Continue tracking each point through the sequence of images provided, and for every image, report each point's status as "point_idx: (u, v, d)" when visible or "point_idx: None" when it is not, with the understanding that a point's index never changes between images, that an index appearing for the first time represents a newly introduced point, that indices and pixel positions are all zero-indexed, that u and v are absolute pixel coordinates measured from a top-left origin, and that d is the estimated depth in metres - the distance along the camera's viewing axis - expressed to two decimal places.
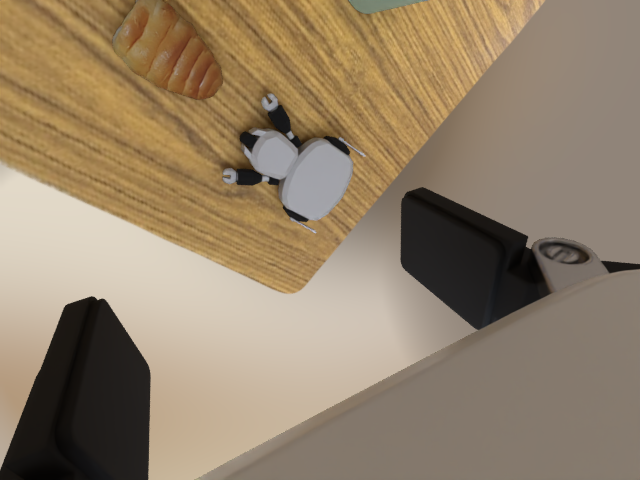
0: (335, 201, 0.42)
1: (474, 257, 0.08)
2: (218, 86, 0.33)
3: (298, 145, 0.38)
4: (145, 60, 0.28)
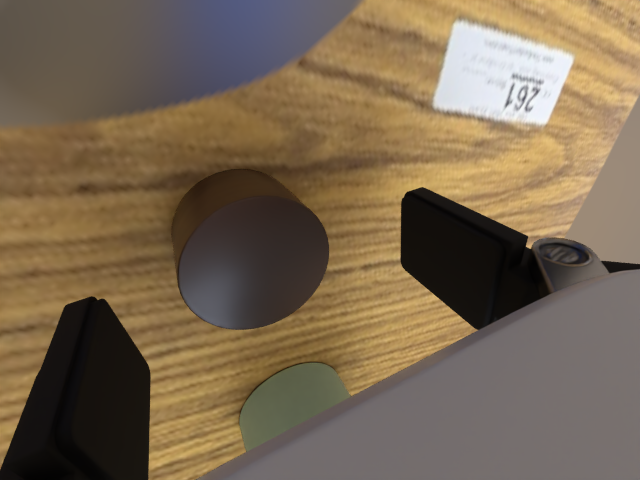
0: None
1: (474, 257, 0.08)
2: None
3: None
4: None
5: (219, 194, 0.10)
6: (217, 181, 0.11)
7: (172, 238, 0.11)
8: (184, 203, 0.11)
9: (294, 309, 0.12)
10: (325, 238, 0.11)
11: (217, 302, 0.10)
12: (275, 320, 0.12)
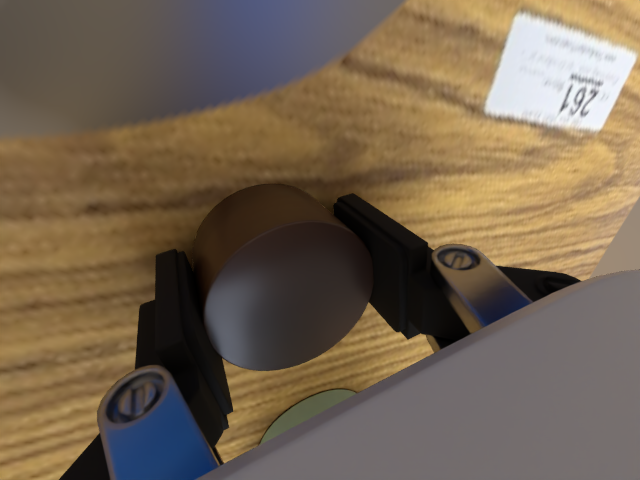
0: None
1: (385, 262, 0.09)
2: None
3: None
4: None
5: (251, 217, 0.08)
6: (246, 199, 0.09)
7: (193, 264, 0.10)
8: (208, 224, 0.09)
9: (331, 345, 0.10)
10: (371, 266, 0.09)
11: (246, 343, 0.09)
12: (309, 358, 0.10)
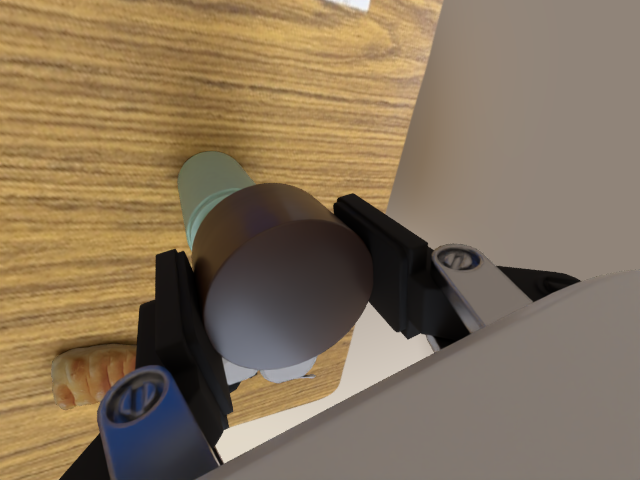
0: None
1: (385, 262, 0.09)
2: None
3: None
4: (91, 402, 0.33)
5: (251, 216, 0.08)
6: (246, 198, 0.09)
7: (193, 263, 0.10)
8: (208, 223, 0.09)
9: (331, 344, 0.10)
10: (371, 265, 0.09)
11: (246, 342, 0.09)
12: (309, 357, 0.10)
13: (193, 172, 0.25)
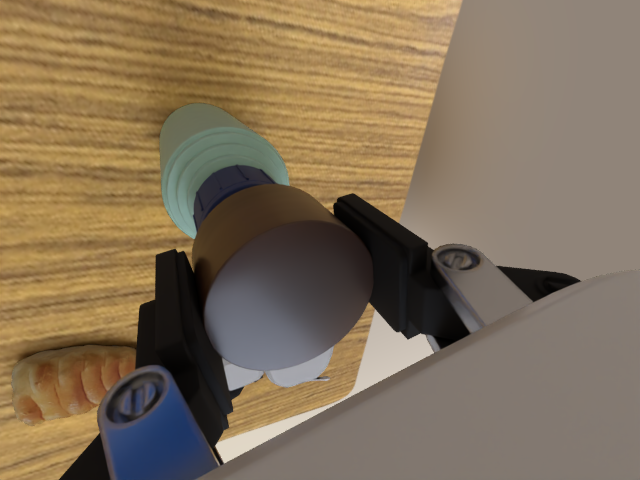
0: (329, 353, 0.36)
1: (385, 262, 0.09)
2: None
3: None
4: (63, 416, 0.27)
5: (251, 217, 0.08)
6: (246, 199, 0.09)
7: (193, 264, 0.10)
8: (208, 224, 0.09)
9: (331, 345, 0.10)
10: (371, 266, 0.09)
11: (246, 343, 0.09)
12: (309, 358, 0.10)
13: (175, 121, 0.20)
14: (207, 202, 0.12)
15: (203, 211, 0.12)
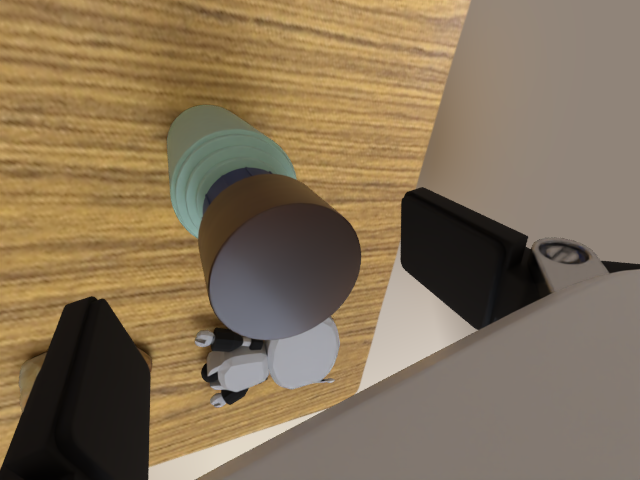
0: (334, 355, 0.36)
1: (474, 257, 0.08)
2: None
3: (260, 347, 0.33)
4: None
5: (251, 201, 0.09)
6: (247, 186, 0.10)
7: (199, 244, 0.11)
8: (213, 209, 0.10)
9: (323, 319, 0.11)
10: (357, 246, 0.10)
11: (246, 313, 0.10)
12: (303, 330, 0.11)
13: (183, 123, 0.20)
14: None
15: None
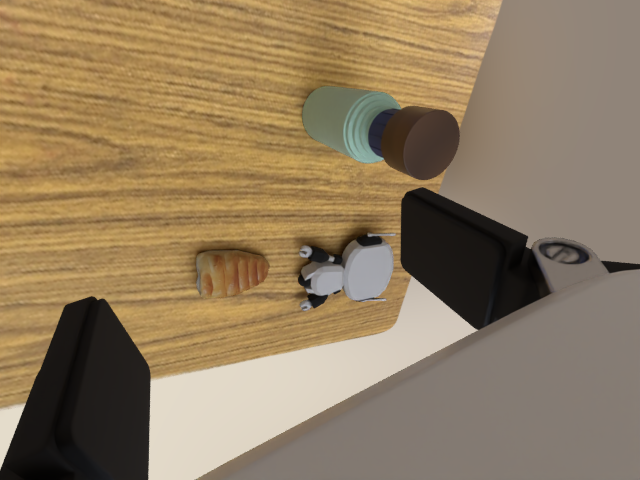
0: (389, 275, 0.49)
1: (474, 257, 0.08)
2: (268, 268, 0.43)
3: (340, 262, 0.46)
4: (222, 294, 0.40)
5: (419, 111, 0.22)
6: (411, 108, 0.23)
7: (386, 135, 0.24)
8: (395, 118, 0.24)
9: (438, 173, 0.24)
10: (458, 136, 0.24)
11: (413, 160, 0.23)
12: (430, 177, 0.24)
13: (328, 93, 0.33)
14: (387, 121, 0.25)
15: None
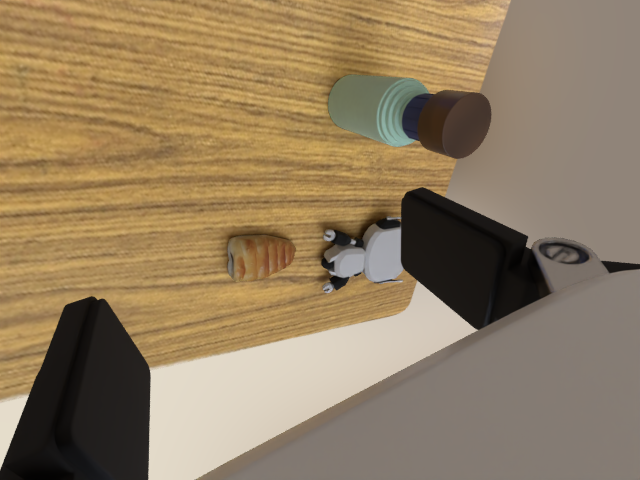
0: None
1: (474, 257, 0.08)
2: (294, 252, 0.45)
3: (362, 245, 0.48)
4: (253, 277, 0.42)
5: (456, 93, 0.24)
6: (447, 92, 0.25)
7: (424, 117, 0.26)
8: (432, 101, 0.26)
9: (471, 152, 0.27)
10: (490, 117, 0.26)
11: (450, 140, 0.25)
12: (463, 156, 0.26)
13: (357, 81, 0.35)
14: (422, 105, 0.27)
15: (422, 108, 0.27)
